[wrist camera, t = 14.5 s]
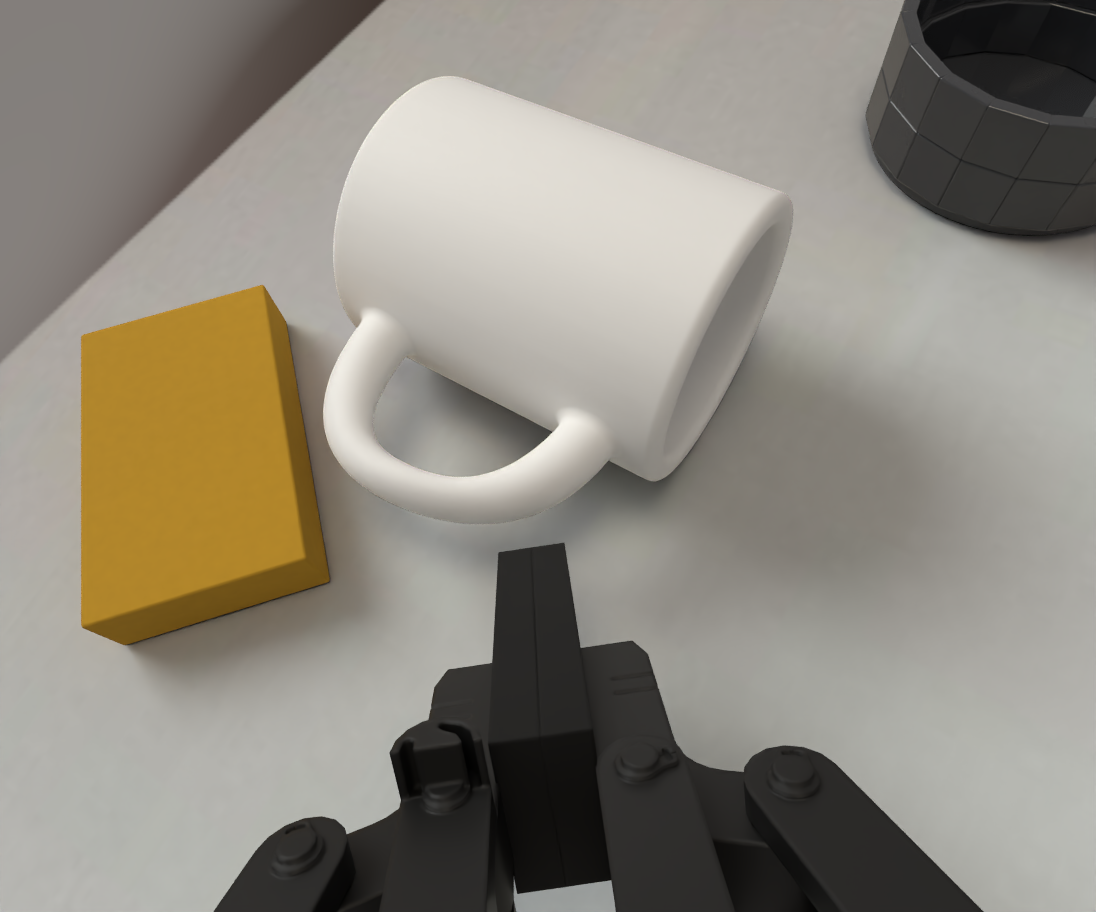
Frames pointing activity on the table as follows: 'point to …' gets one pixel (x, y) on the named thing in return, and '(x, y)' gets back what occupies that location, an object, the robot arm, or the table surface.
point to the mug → (541, 291)
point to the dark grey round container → (992, 112)
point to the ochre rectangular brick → (193, 469)
